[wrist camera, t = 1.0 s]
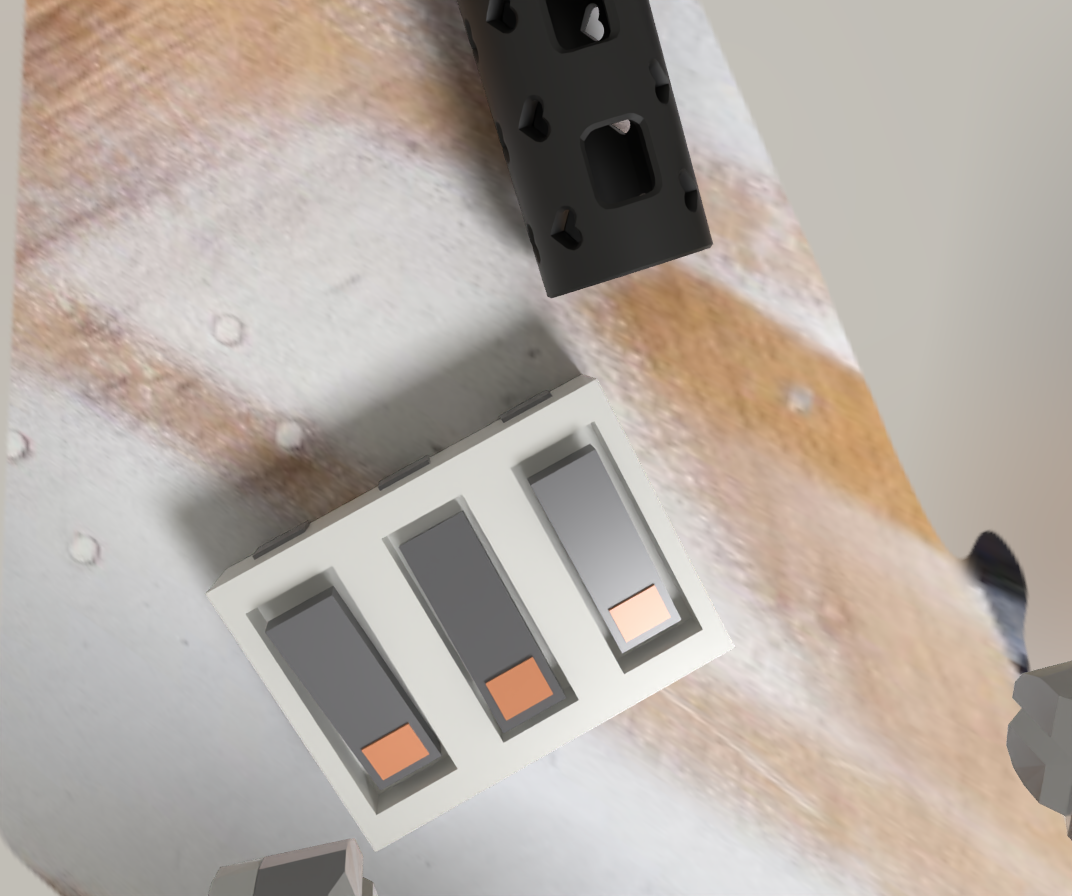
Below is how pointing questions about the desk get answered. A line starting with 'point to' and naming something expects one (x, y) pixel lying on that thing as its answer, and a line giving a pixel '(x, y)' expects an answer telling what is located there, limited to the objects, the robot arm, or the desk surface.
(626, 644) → the rocker
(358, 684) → the rocker
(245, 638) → the switch strip
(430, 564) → the middle rocker
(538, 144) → the perforated black cylinder
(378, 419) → the desk surface
